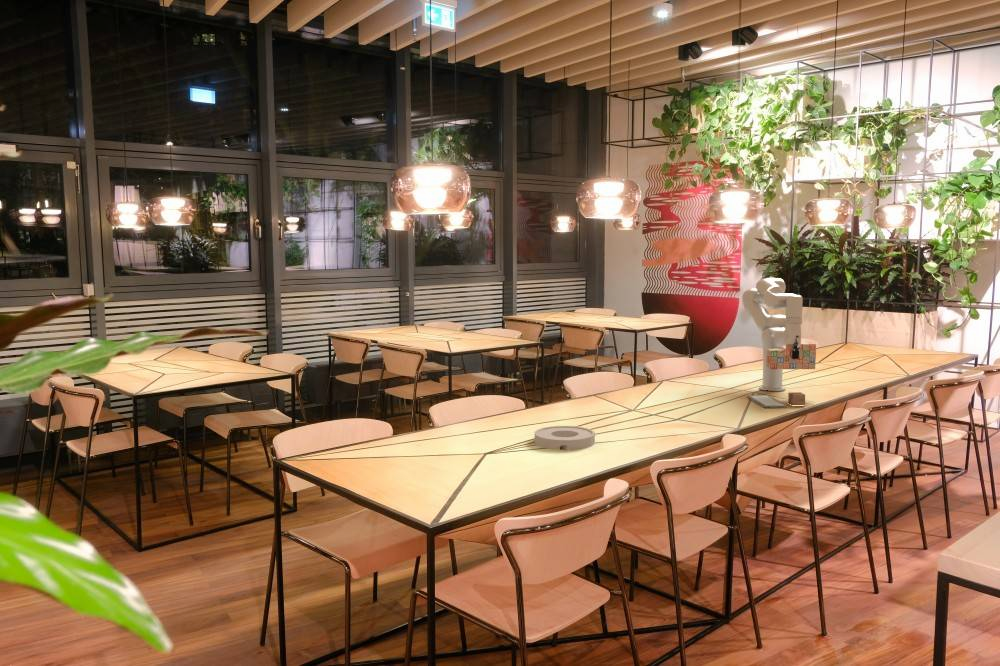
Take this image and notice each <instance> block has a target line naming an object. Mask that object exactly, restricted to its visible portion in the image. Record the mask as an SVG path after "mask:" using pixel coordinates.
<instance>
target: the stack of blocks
mask: <svg viewBox="0 0 1000 666" xmlns="http://www.w3.org/2000/svg"><path fill="white" fill-rule="evenodd" d="M796 344H797V343H796ZM792 345H793V344H792ZM792 345H789V344H786V346H785V348H779V349H767V368H769V369H783V370H815V369H816V361H817V360H816V356H817V347H816V346H817V344H816V343H814V342H806V341H801V345H800V350H799V359H792V351H793V346H792Z"/></svg>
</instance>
